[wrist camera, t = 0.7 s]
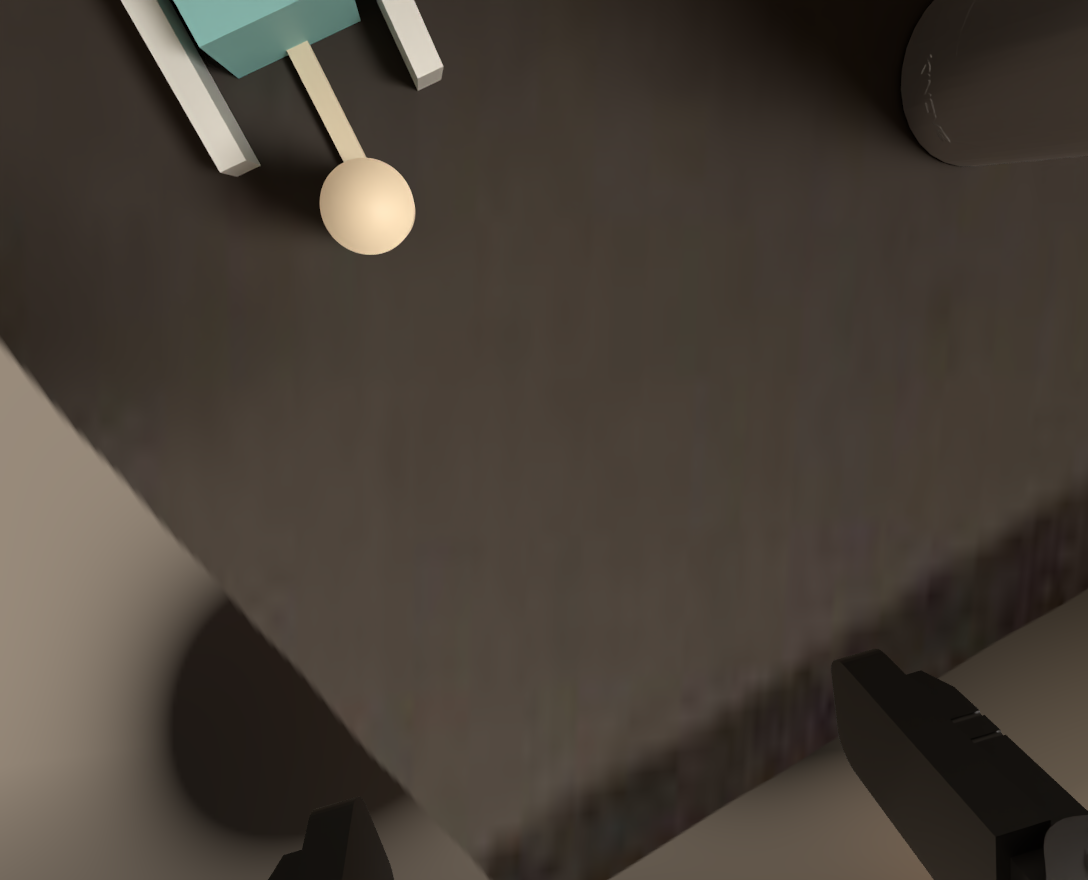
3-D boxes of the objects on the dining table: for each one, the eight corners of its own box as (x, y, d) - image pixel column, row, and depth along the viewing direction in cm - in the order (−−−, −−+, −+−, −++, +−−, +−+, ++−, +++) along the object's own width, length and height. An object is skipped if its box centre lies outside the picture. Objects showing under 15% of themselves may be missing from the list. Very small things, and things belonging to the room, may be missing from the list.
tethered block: (289, -130, 30) (229, -294, 20) (452, 215, 35) (465, 213, 25) (158, -69, 29) (36, -206, 20) (341, 269, 35) (313, 287, 25)
